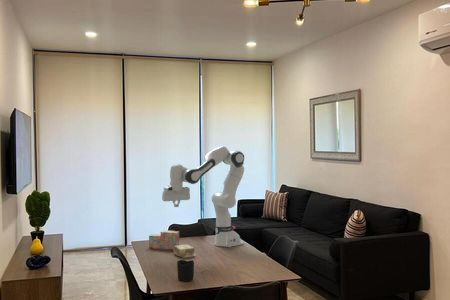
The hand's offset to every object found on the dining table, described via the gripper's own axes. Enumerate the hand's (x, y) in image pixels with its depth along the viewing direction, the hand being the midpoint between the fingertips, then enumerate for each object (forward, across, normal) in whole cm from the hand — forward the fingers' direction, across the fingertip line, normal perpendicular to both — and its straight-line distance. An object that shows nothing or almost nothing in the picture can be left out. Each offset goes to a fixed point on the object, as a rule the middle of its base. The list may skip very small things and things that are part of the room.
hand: (176, 206), depth 307 cm
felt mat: (+31, -1, +14) cm, 34 cm away
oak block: (+28, +5, +14) cm, 32 cm away
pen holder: (+31, +21, +64) cm, 74 cm away
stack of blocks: (+32, +5, -12) cm, 34 cm away
